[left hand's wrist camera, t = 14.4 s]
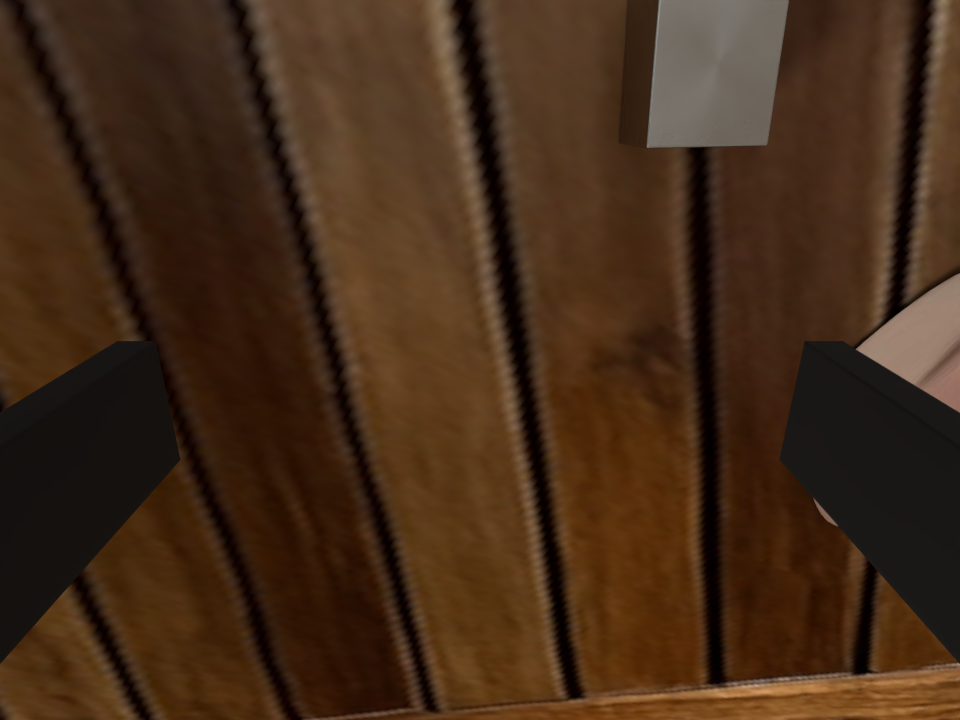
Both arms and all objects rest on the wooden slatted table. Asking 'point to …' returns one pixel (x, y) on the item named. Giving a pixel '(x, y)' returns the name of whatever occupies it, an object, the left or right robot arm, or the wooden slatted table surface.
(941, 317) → the anatomical model
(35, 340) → the wooden slatted table surface
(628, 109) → the block
